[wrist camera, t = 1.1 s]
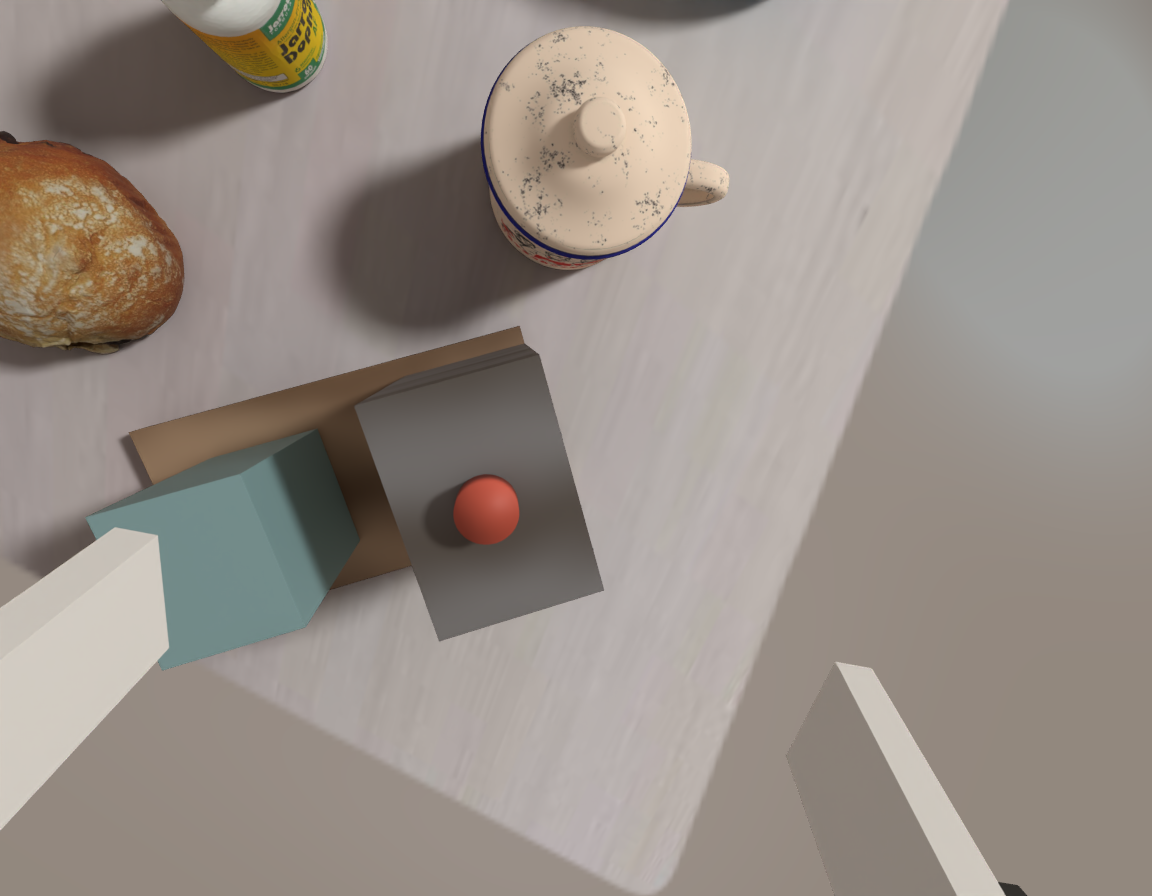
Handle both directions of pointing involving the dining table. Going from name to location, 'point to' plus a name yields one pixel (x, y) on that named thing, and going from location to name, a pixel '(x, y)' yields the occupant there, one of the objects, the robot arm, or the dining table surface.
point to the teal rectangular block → (242, 543)
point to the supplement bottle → (260, 38)
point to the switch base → (333, 433)
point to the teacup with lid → (589, 148)
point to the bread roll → (80, 251)
